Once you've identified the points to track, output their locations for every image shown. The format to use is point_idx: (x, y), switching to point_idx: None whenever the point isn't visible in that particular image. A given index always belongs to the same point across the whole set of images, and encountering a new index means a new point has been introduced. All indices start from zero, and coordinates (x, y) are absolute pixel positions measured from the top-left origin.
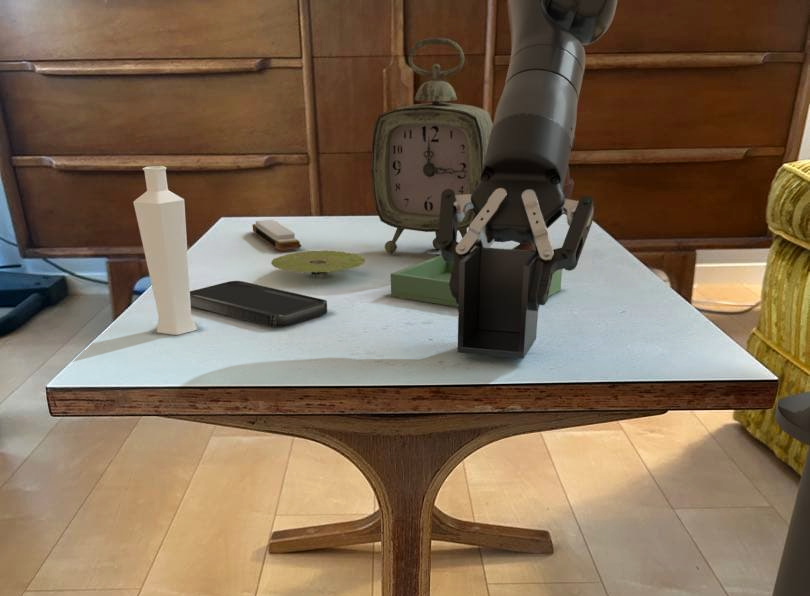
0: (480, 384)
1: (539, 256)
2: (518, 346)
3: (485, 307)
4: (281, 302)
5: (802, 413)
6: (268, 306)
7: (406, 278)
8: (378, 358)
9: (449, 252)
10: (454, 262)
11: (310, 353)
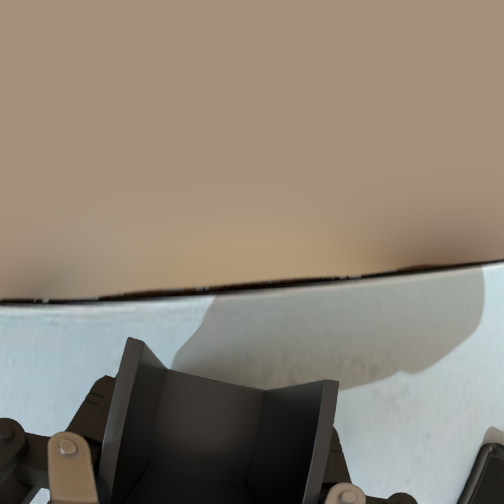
0: (225, 294)
1: (93, 464)
2: (166, 399)
3: (239, 497)
4: (492, 495)
5: None
6: (500, 475)
7: None
8: (377, 383)
9: (372, 497)
10: (348, 476)
11: (444, 379)
